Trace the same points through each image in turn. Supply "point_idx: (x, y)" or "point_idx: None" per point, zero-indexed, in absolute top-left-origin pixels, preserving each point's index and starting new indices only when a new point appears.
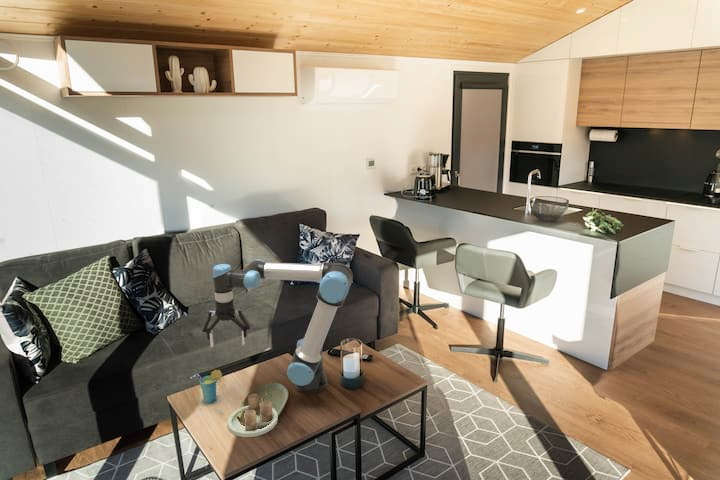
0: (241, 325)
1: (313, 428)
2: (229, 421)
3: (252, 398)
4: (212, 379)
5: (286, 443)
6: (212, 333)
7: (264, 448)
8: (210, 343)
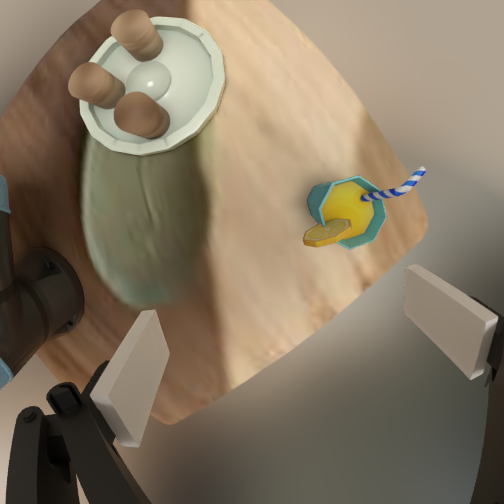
0: (73, 463)
1: (17, 100)
2: (216, 57)
3: (133, 100)
4: (338, 219)
5: (65, 35)
6: (457, 361)
7: (110, 8)
8: (435, 275)
